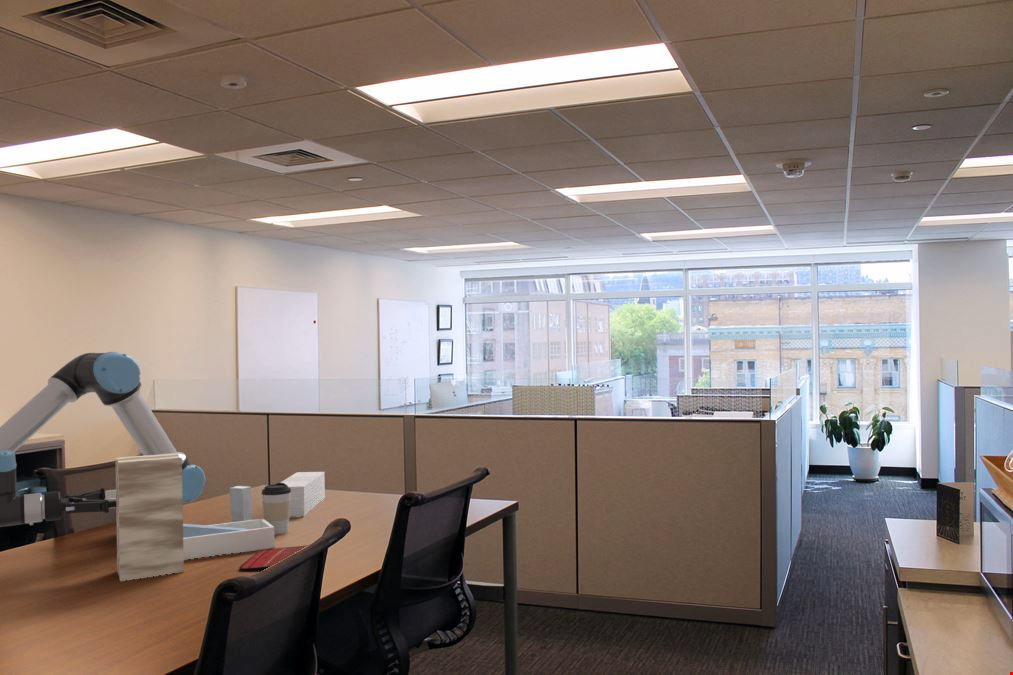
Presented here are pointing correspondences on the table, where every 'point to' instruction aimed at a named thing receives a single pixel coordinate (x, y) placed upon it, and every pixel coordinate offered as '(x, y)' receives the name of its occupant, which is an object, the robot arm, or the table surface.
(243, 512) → the skincare box
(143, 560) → the beige tall box
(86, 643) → the table surface
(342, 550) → the table surface
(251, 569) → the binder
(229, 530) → the block
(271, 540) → the tray
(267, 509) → the coffee cup
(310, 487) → the stack of papers
